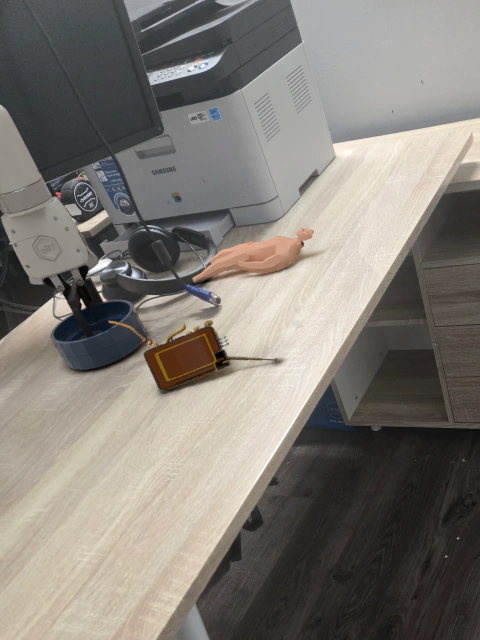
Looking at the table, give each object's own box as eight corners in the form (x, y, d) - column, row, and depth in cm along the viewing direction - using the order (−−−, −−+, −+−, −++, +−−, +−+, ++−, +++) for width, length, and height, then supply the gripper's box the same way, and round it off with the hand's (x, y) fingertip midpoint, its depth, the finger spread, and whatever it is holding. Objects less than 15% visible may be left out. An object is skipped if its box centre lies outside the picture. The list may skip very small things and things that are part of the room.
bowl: (63, 382, 106) (44, 352, 102) (72, 344, 117) (55, 316, 113) (147, 355, 107) (131, 325, 103) (148, 320, 117) (134, 291, 114)
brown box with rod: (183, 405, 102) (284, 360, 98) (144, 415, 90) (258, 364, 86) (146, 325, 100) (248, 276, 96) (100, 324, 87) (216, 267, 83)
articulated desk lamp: (108, 349, 109) (82, 301, 104) (82, 357, 109) (55, 310, 104) (112, 311, 122) (89, 267, 116) (89, 318, 121) (65, 274, 116)
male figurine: (198, 249, 129) (315, 214, 123) (210, 272, 133) (324, 239, 126) (183, 272, 122) (306, 236, 115) (195, 296, 125) (316, 263, 118)
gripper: (-30, 220, 97) (38, 330, 109) (71, 189, 98) (127, 302, 110) (-20, 206, 103) (43, 312, 115) (75, 177, 103) (128, 286, 116)
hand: (84, 307), depth 112 cm, fingers closed on articulated desk lamp, 1 cm apart
